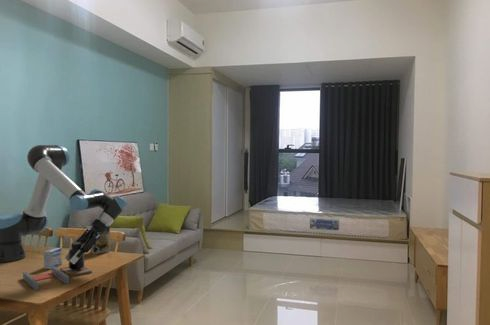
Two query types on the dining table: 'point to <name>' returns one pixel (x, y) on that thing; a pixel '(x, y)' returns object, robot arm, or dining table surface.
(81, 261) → the supplement bottle
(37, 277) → the pad
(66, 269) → the walnut pad
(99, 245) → the coffee box
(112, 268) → the dining table surface
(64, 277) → the channel
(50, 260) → the medicine box
